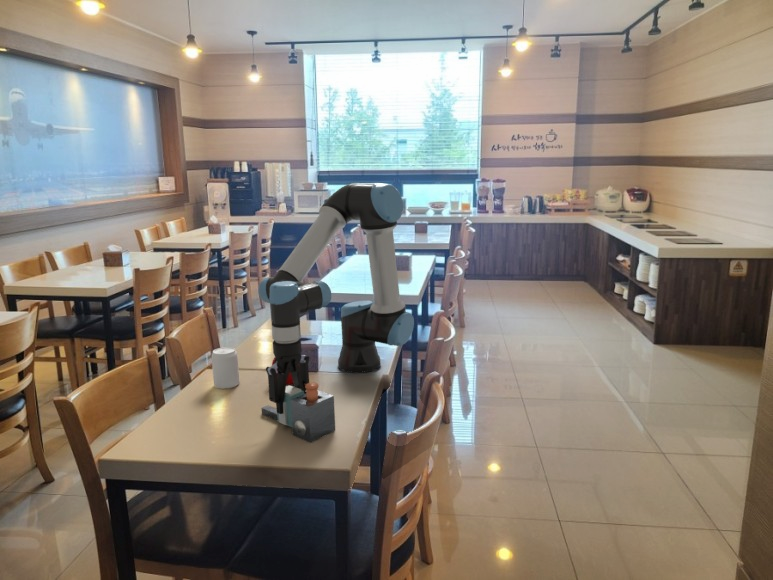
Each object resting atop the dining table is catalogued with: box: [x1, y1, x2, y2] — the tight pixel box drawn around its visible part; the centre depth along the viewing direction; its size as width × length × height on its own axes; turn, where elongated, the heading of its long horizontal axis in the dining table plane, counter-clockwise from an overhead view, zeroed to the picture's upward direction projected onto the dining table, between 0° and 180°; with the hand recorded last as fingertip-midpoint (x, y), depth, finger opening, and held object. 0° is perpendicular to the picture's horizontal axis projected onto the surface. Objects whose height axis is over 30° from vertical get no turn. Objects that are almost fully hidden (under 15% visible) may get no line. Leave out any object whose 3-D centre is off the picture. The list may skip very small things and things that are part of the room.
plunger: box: [305, 382, 319, 402], centre depth 148 cm, size 3×3×6 cm
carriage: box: [277, 384, 304, 428], centre depth 155 cm, size 5×6×9 cm
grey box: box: [291, 389, 336, 444], centre depth 149 cm, size 9×7×10 cm
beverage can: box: [211, 346, 241, 390], centre depth 183 cm, size 8×8×12 cm
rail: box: [261, 404, 278, 422], centre depth 157 cm, size 2×17×2 cm, turn 51°
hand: (291, 419), depth 155 cm, fingers closed on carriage, 5 cm apart
